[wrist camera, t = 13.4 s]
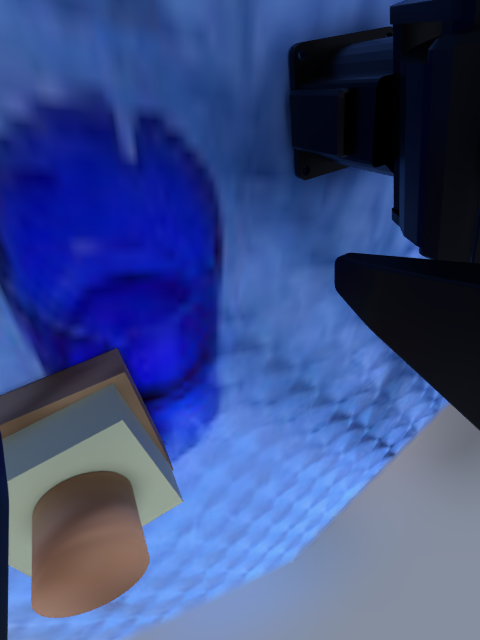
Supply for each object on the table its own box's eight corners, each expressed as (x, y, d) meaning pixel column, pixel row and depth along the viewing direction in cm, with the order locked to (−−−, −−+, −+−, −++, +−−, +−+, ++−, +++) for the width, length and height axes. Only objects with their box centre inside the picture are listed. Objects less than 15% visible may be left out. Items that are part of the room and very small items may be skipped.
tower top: (112, 382, 20) (122, 419, 18) (170, 465, 25) (183, 501, 23) (-56, 468, 18) (-70, 522, 16) (45, 537, 24) (46, 585, 21)
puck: (109, 456, 18) (124, 528, 15) (145, 500, 22) (163, 568, 18) (10, 509, 17) (5, 598, 14) (63, 548, 20) (67, 628, 17)
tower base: (115, 343, 22) (124, 372, 20) (162, 439, 28) (173, 469, 26) (-63, 415, 20) (-76, 457, 17) (29, 504, 26) (29, 544, 23)
